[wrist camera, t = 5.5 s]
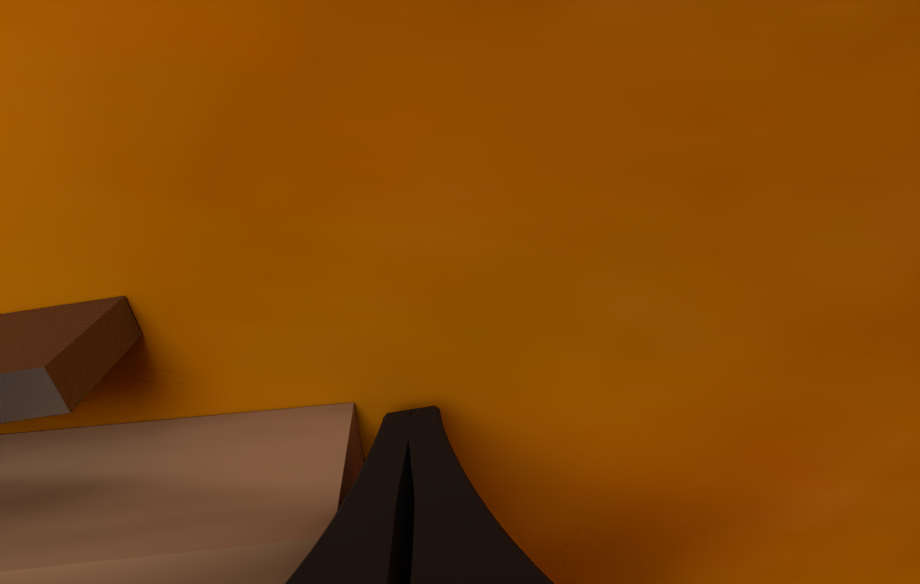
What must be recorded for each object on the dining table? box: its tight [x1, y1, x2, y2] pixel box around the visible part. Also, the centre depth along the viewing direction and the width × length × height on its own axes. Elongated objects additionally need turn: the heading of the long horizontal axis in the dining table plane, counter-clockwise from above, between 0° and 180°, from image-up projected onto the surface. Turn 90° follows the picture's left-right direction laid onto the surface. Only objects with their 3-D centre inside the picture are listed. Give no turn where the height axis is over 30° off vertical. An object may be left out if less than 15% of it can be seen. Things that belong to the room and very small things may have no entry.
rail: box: [0, 403, 364, 584], centre depth 12 cm, size 4×10×4 cm, turn 93°
